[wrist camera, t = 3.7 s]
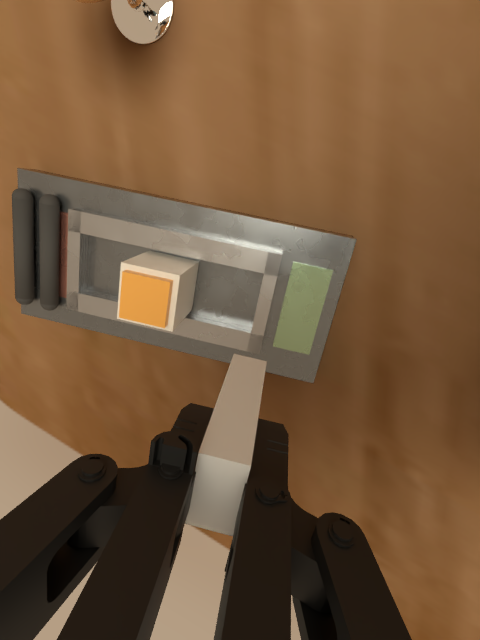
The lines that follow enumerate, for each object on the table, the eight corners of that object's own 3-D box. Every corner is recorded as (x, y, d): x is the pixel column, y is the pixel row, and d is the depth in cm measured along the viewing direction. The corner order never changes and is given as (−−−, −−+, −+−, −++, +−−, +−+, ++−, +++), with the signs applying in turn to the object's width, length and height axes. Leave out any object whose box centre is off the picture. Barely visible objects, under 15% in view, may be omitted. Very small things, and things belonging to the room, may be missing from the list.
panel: (34, 169, 30) (5, 167, 27) (352, 235, 28) (359, 241, 25) (36, 306, 34) (11, 317, 31) (312, 372, 32) (314, 390, 29)
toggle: (149, 250, 28) (116, 264, 23) (199, 261, 28) (177, 277, 23) (144, 298, 30) (112, 321, 25) (192, 309, 30) (169, 335, 24)
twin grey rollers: (20, 186, 28) (7, 186, 27) (64, 195, 28) (52, 196, 27) (23, 300, 32) (11, 304, 30) (62, 309, 31) (52, 314, 30)
